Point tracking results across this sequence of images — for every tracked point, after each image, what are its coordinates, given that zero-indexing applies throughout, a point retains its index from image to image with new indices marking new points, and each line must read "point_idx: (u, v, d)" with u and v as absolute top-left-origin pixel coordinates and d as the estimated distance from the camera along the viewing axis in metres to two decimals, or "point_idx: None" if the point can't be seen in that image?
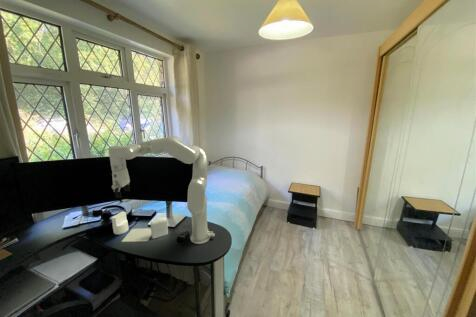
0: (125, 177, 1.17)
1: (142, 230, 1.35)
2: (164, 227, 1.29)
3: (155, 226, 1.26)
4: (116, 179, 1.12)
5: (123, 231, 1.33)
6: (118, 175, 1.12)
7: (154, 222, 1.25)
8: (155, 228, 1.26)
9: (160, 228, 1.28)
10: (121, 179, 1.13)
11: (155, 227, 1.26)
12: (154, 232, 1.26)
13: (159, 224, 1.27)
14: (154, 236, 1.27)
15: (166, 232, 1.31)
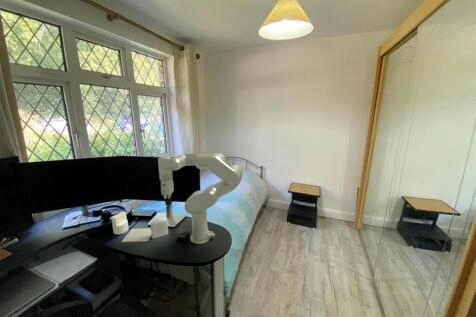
0: (171, 186, 1.24)
1: (142, 230, 1.35)
2: (164, 227, 1.29)
3: (155, 226, 1.26)
4: (165, 188, 1.18)
5: (123, 231, 1.33)
6: (167, 184, 1.18)
7: (154, 222, 1.25)
8: (155, 228, 1.26)
9: (160, 228, 1.28)
10: (169, 188, 1.20)
11: (155, 227, 1.26)
12: (154, 232, 1.26)
13: (160, 224, 1.27)
14: (154, 236, 1.27)
15: (166, 232, 1.31)
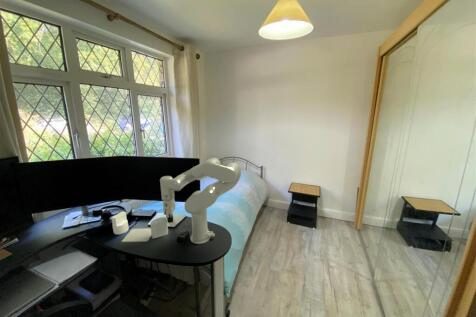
0: (173, 205, 1.26)
1: (142, 230, 1.35)
2: (164, 227, 1.29)
3: (155, 226, 1.26)
4: (167, 208, 1.21)
5: (123, 231, 1.33)
6: (169, 204, 1.21)
7: (154, 222, 1.25)
8: (155, 228, 1.26)
9: (160, 228, 1.28)
10: (171, 207, 1.22)
11: (155, 227, 1.26)
12: (154, 232, 1.26)
13: (159, 224, 1.27)
14: (154, 236, 1.27)
15: (166, 232, 1.31)
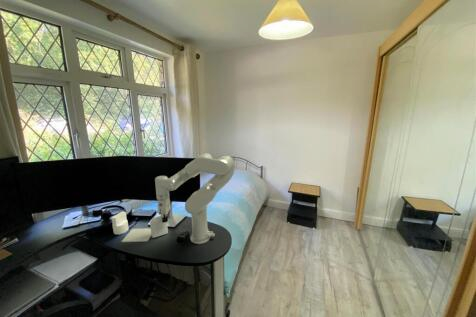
0: (168, 204, 1.26)
1: (142, 230, 1.35)
2: (164, 226, 1.30)
3: (155, 224, 1.27)
4: (161, 207, 1.21)
5: (123, 231, 1.33)
6: (163, 204, 1.21)
7: (153, 220, 1.27)
8: (154, 227, 1.27)
9: (160, 226, 1.28)
10: (165, 207, 1.22)
11: (155, 226, 1.27)
12: (154, 231, 1.27)
13: (159, 222, 1.28)
14: (154, 235, 1.27)
15: (166, 231, 1.31)
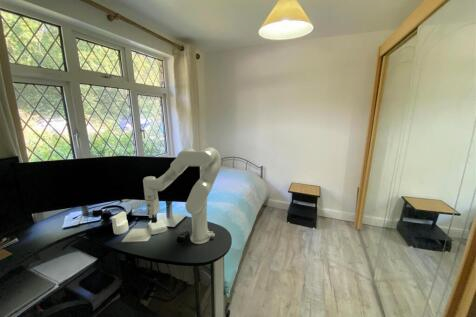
0: (157, 205, 1.26)
1: (142, 230, 1.35)
2: (161, 223, 1.38)
3: None
4: (150, 208, 1.21)
5: (123, 231, 1.33)
6: (151, 204, 1.21)
7: None
8: (152, 224, 1.35)
9: (157, 223, 1.37)
10: (154, 208, 1.22)
11: (152, 223, 1.36)
12: (152, 226, 1.33)
13: None
14: (152, 228, 1.31)
15: (164, 225, 1.35)
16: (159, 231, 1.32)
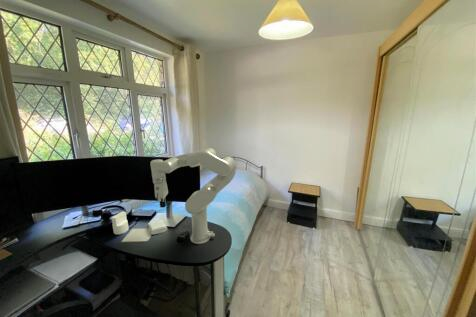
0: (165, 189, 1.24)
1: (142, 230, 1.35)
2: (161, 223, 1.38)
3: (152, 222, 1.37)
4: (158, 191, 1.18)
5: (123, 231, 1.33)
6: (160, 187, 1.18)
7: (151, 222, 1.39)
8: (152, 224, 1.35)
9: (157, 223, 1.37)
10: (162, 191, 1.20)
11: (152, 223, 1.36)
12: (152, 226, 1.33)
13: (156, 221, 1.39)
14: (152, 228, 1.31)
15: (164, 225, 1.35)
16: (159, 231, 1.32)
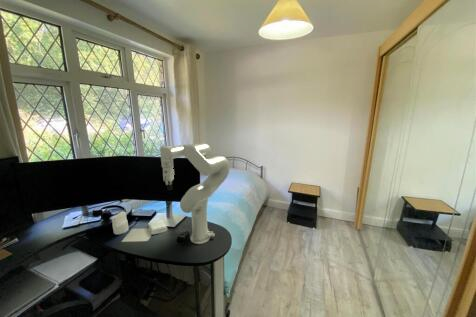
0: (172, 173, 1.34)
1: (142, 230, 1.35)
2: (161, 223, 1.38)
3: (152, 222, 1.37)
4: (166, 174, 1.29)
5: (123, 231, 1.33)
6: (168, 171, 1.29)
7: (151, 222, 1.39)
8: (152, 224, 1.35)
9: (157, 223, 1.37)
10: (170, 174, 1.30)
11: (152, 223, 1.36)
12: (152, 226, 1.33)
13: (156, 221, 1.39)
14: (152, 228, 1.31)
15: (164, 225, 1.35)
16: (159, 231, 1.32)
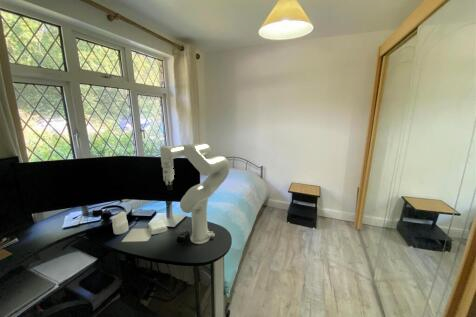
0: (172, 173, 1.34)
1: (142, 230, 1.35)
2: (161, 223, 1.38)
3: (152, 222, 1.37)
4: (166, 174, 1.29)
5: (123, 231, 1.33)
6: (168, 171, 1.29)
7: (151, 222, 1.39)
8: (152, 224, 1.35)
9: (157, 223, 1.37)
10: (170, 174, 1.30)
11: (152, 223, 1.36)
12: (152, 226, 1.33)
13: (156, 221, 1.39)
14: (152, 228, 1.31)
15: (164, 225, 1.35)
16: (159, 231, 1.32)
